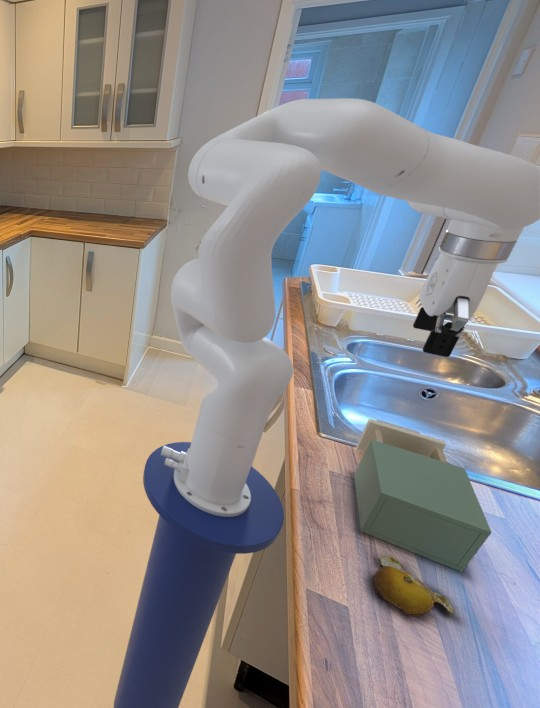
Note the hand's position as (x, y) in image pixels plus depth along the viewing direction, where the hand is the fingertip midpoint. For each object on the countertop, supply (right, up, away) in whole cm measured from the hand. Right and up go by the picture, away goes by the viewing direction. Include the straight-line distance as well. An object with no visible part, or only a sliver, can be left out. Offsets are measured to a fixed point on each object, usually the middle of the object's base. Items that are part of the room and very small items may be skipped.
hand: (429, 341), depth 73 cm
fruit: (-18, -34, -15) cm, 41 cm away
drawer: (-3, -24, +4) cm, 25 cm away
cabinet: (-9, -29, -4) cm, 30 cm away
